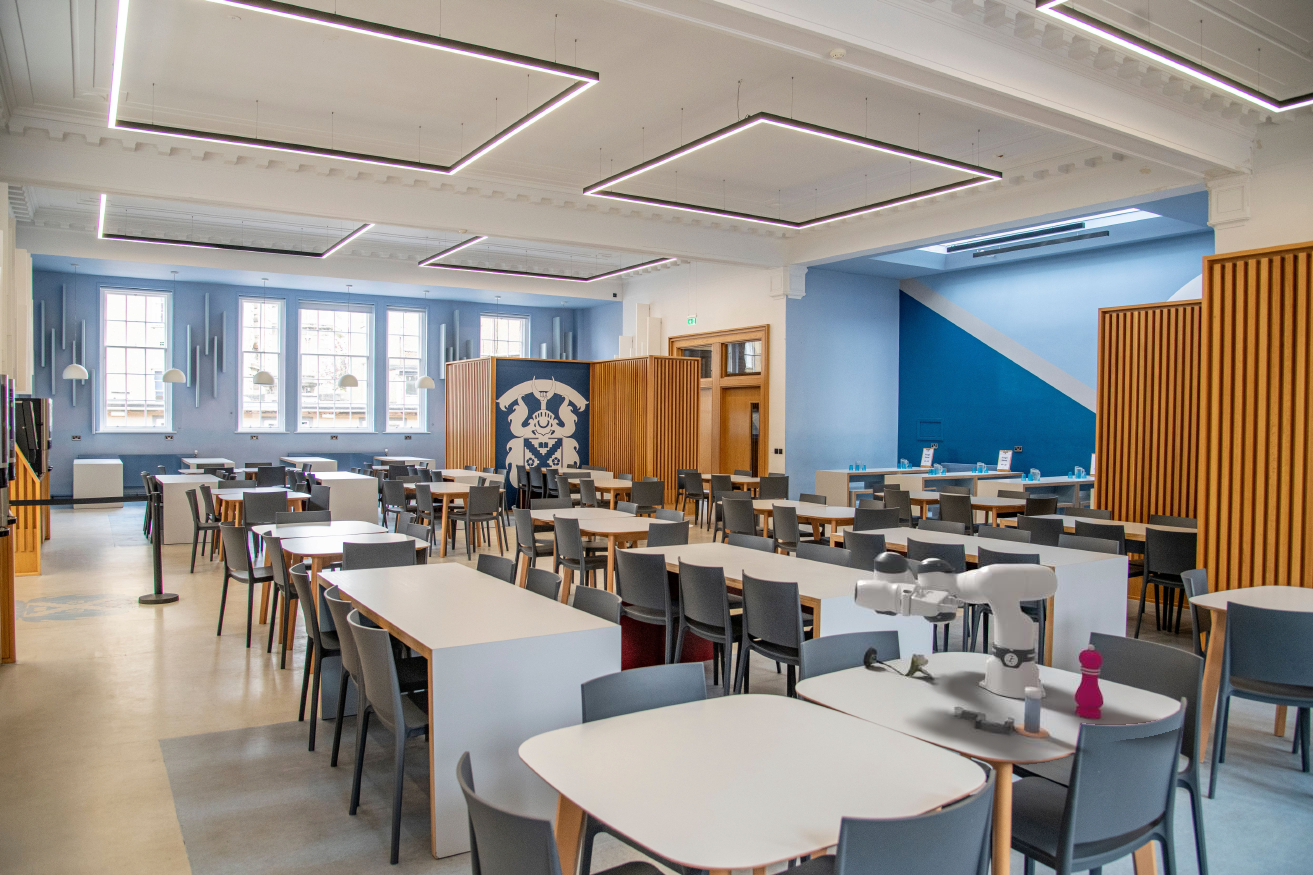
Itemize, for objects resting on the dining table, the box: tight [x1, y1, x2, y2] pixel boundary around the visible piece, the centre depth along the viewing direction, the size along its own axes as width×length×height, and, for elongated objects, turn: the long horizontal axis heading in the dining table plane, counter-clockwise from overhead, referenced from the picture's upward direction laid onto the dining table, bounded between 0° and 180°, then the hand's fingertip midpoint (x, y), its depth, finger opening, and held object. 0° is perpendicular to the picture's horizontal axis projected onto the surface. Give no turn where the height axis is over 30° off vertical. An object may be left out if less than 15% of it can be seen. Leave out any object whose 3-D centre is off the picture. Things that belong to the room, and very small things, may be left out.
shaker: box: [1023, 687, 1042, 733], centre depth 216 cm, size 4×4×11 cm
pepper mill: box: [1074, 644, 1104, 720], centre depth 231 cm, size 7×7×20 cm
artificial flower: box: [862, 646, 935, 680], centre depth 266 cm, size 9×22×10 cm, turn 47°
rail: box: [953, 706, 1015, 736], centre depth 220 cm, size 8×15×2 cm, turn 60°
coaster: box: [1014, 724, 1050, 739], centre depth 216 cm, size 8×8×1 cm
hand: (960, 606), depth 229 cm, fingers open, 8 cm apart
